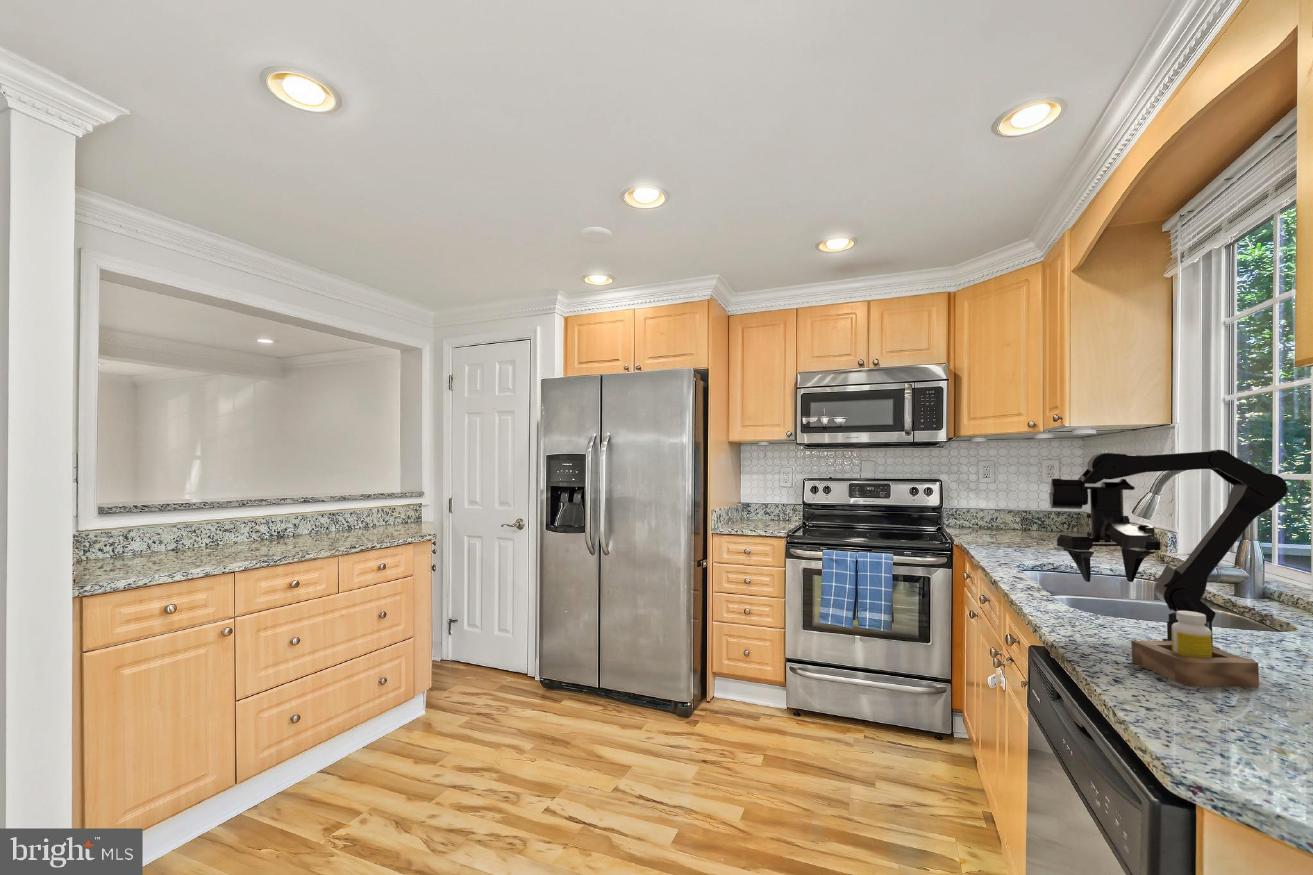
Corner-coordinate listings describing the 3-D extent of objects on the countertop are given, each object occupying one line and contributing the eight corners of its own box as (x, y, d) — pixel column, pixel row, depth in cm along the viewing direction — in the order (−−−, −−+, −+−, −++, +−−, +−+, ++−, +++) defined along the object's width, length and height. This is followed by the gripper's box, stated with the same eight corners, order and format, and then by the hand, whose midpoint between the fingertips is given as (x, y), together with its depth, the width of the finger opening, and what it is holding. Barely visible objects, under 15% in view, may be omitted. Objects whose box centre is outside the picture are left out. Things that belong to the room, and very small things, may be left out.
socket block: (1195, 662, 112) (1194, 640, 112) (1259, 686, 100) (1258, 662, 100) (1132, 661, 112) (1131, 640, 112) (1187, 686, 100) (1187, 662, 100)
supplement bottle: (1221, 674, 103) (1219, 617, 103) (1185, 672, 104) (1183, 616, 104) (1199, 663, 108) (1197, 610, 108) (1165, 661, 109) (1163, 608, 109)
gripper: (1090, 513, 120) (1092, 589, 120) (1182, 513, 120) (1184, 590, 120) (1054, 508, 132) (1056, 578, 131) (1138, 508, 131) (1140, 579, 131)
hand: (1108, 581), depth 128 cm, fingers open, 9 cm apart
